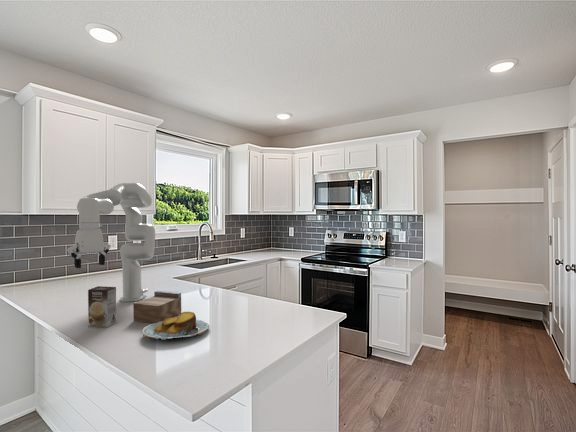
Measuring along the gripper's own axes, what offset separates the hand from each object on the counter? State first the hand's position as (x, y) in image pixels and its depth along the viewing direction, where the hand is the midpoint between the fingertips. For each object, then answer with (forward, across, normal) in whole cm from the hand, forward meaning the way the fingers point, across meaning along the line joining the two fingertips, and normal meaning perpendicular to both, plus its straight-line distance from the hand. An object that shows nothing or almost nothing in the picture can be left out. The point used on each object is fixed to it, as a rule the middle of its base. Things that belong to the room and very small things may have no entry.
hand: (90, 266), depth 134 cm
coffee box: (+26, -3, +3) cm, 26 cm away
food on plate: (+26, -12, +39) cm, 49 cm away
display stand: (+26, -21, +17) cm, 37 cm away
